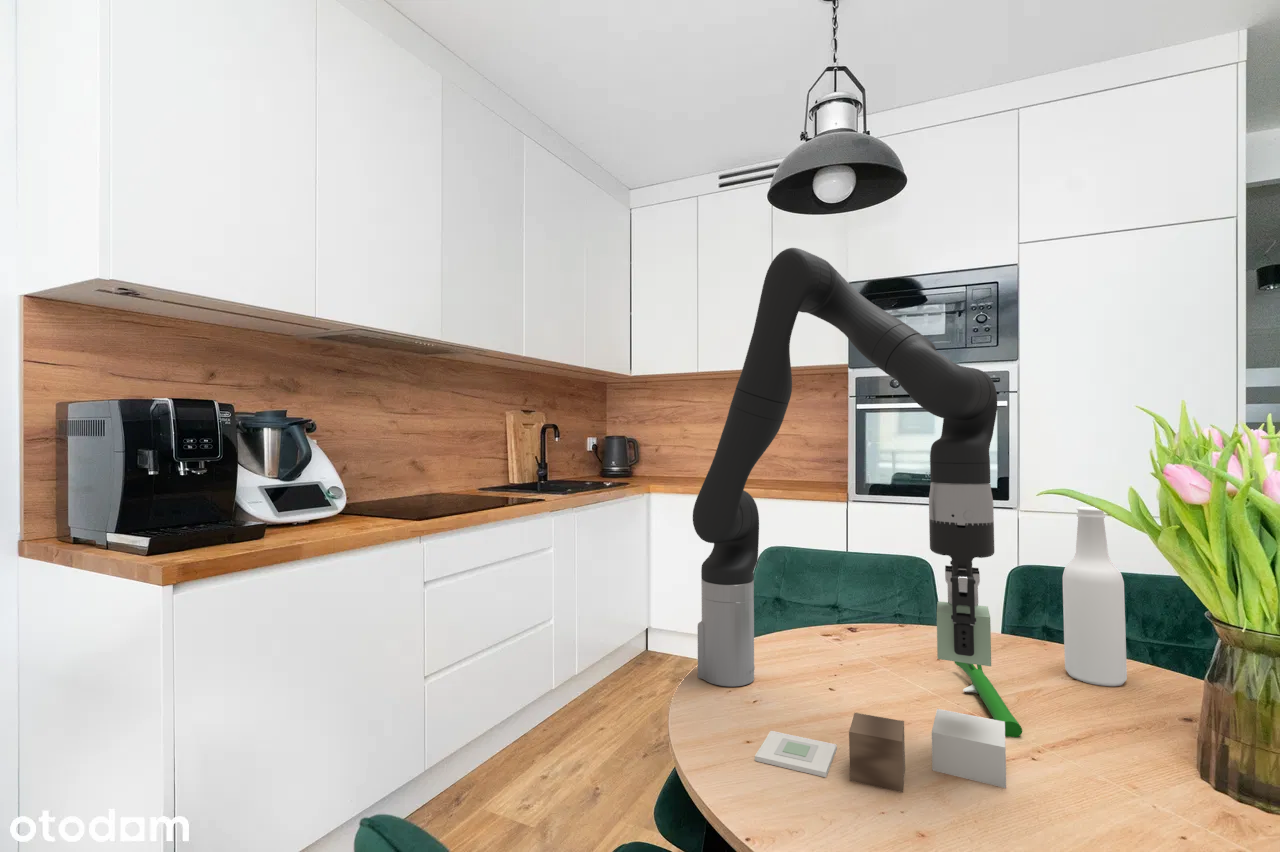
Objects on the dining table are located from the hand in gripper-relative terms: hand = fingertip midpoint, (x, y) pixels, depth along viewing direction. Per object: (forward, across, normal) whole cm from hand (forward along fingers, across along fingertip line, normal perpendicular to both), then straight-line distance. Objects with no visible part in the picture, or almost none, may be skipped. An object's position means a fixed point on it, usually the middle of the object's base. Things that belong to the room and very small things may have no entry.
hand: (963, 646), depth 80 cm
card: (+15, +8, -20) cm, 26 cm away
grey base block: (+15, 0, 0) cm, 15 cm away
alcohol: (+15, -43, +21) cm, 50 cm away
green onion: (+15, -25, +2) cm, 30 cm away
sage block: (+1, 0, 0) cm, 1 cm away
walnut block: (+15, +8, -10) cm, 20 cm away
